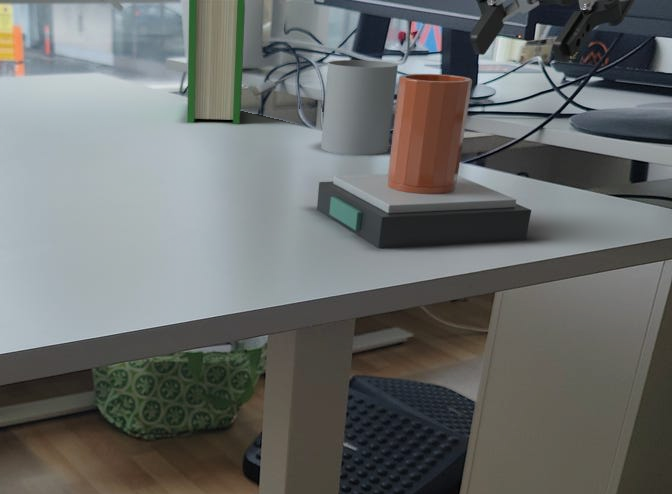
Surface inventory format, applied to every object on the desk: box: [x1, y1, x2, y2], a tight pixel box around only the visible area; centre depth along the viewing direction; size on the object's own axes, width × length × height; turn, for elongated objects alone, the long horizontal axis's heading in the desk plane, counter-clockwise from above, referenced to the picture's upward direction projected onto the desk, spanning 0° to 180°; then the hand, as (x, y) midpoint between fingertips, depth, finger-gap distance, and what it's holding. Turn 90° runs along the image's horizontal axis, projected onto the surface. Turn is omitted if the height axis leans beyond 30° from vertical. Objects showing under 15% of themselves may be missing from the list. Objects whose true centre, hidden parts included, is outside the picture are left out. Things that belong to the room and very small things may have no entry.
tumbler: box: [387, 73, 473, 194], centre depth 83 cm, size 6×6×9 cm
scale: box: [316, 173, 532, 249], centre depth 86 cm, size 14×14×4 cm
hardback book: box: [186, 0, 246, 125], centre depth 138 cm, size 18×7×24 cm, turn 177°
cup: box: [320, 59, 398, 156], centre depth 118 cm, size 8×8×10 cm
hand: (515, 51), depth 86 cm, fingers open, 8 cm apart
